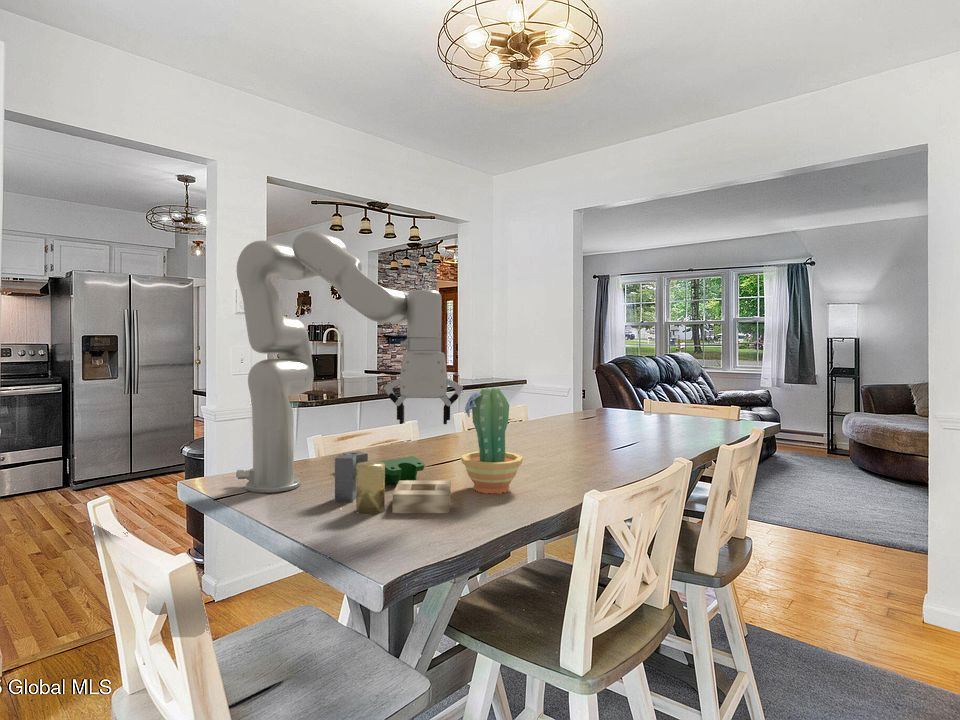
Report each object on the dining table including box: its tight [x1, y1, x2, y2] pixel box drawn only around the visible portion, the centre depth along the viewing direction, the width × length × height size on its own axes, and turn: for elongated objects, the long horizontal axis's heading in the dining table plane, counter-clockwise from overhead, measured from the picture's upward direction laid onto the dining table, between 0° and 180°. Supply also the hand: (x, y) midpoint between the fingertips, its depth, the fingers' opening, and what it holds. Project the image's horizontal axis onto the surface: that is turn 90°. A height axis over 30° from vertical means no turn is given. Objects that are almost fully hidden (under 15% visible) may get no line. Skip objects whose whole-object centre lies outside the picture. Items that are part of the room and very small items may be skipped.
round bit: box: [355, 460, 386, 515], centre depth 124 cm, size 6×6×10 cm
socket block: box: [392, 479, 452, 514], centre depth 128 cm, size 12×12×4 cm
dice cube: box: [342, 450, 369, 465], centre depth 160 cm, size 5×5×5 cm
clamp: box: [377, 455, 426, 487], centre depth 148 cm, size 12×6×9 cm, turn 126°
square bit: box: [334, 454, 356, 503], centre depth 132 cm, size 4×4×10 cm
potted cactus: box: [460, 387, 524, 495], centre depth 142 cm, size 15×15×25 cm
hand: (423, 423), depth 128 cm, fingers open, 9 cm apart
